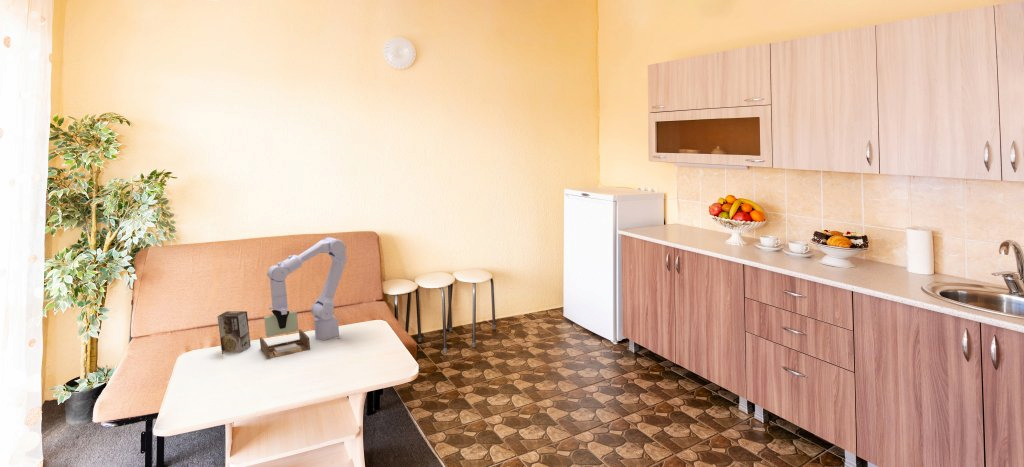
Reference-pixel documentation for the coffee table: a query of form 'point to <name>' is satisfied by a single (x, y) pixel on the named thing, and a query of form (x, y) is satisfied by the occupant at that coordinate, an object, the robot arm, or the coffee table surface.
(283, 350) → the offcut upper
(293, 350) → the offcut lower
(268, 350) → the rack
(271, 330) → the pale green long block
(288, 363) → the coffee table surface
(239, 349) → the coffee box
